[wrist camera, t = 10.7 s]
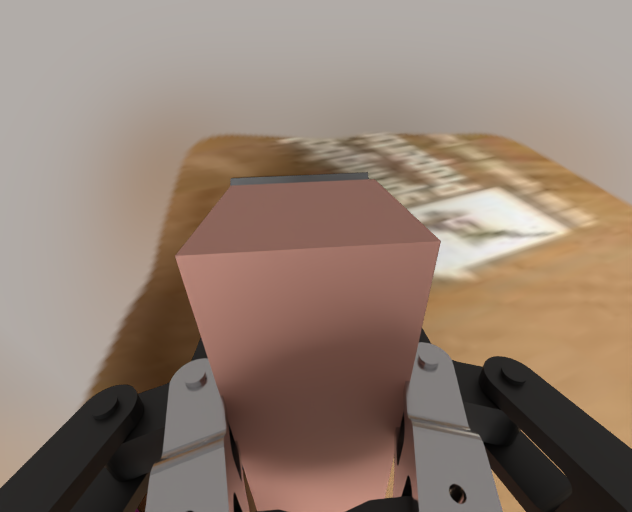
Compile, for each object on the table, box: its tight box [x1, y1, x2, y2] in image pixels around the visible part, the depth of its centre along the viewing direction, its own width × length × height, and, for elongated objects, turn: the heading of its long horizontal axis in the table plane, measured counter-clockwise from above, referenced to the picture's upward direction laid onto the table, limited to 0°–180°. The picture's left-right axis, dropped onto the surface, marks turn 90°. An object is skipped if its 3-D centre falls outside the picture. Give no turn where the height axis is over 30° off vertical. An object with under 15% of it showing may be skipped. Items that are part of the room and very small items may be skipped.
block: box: [175, 179, 441, 512], centre depth 9 cm, size 4×4×12 cm
